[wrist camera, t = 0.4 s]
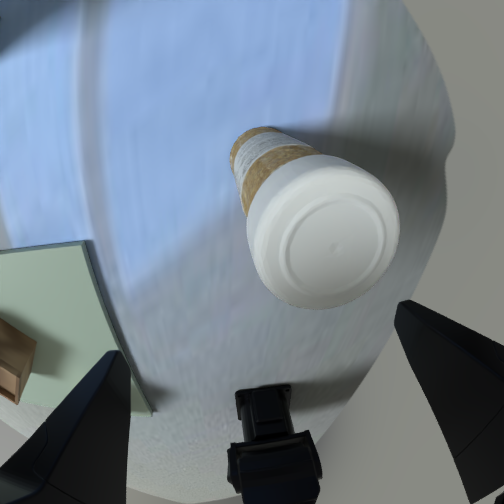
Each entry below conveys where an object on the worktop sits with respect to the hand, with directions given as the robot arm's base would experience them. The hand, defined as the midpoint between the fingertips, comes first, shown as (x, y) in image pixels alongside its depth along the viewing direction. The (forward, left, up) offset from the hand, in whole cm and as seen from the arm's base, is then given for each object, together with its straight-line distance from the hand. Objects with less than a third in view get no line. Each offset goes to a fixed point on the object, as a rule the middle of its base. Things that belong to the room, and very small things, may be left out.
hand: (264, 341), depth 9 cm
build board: (-14, +23, -14) cm, 30 cm away
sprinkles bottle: (+3, -2, -14) cm, 14 cm away
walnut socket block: (-13, +27, -13) cm, 33 cm away
